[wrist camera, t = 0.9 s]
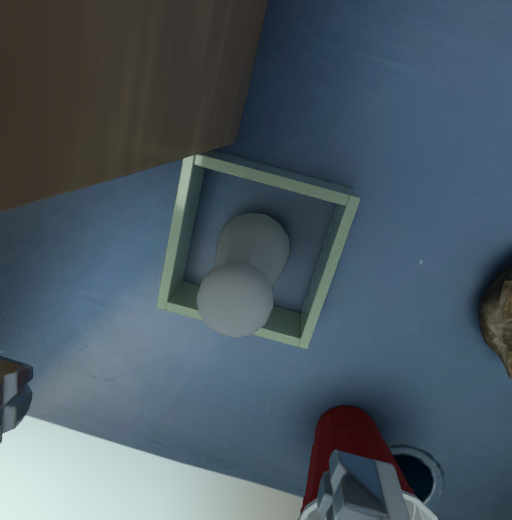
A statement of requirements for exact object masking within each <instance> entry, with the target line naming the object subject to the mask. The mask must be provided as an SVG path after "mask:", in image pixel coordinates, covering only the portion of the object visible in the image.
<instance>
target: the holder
mask: <svg viewBox="0 0 512 520" xmlns="http://www.w3.org/2000/svg"><path fill="white" fill-rule="evenodd" d="M205 168H208V169H211V170H215V171H219V172H222V173H226V174H230V175H233V176H237V177H241V178H244V179H248V180H252V181H255V182H259V183H263V184H266V185H270V186H274V187H277V188H281V189H285V190H288V191H292V192H296V193H299V194H303V195H307V196H310V197H314V198H318V199H321V200H325V201H329V202H332V203H336V207H335V210H334V213H333V216H332V219H331V222H330V225H329V228H328V231H327V234H326V237H325V240H324V243H323V246H322V249H321V252H320V255H319V258H318V261H317V264H316V267H315V270H314V273H313V276H312V279H311V282H310V285H309V288H308V291H307V294H306V297H305V300H304V303H303V306H302V309H301V312H300V313H299V312H295V311H291V310H288V309H284V308H281V307H277V306H273V308H272V310H271V313H270V315H269V318H268V320H267V322H266V324H265V325H264V326H263V327H261V328H260V329H259V330H258V331H256V332H255V333H254V334H253V335H256V336H260V337H264V338H267V339H271V340H274V341H278V342H282V343H285V344H289V345H293V346H296V347H300V348H304V349H308V347H309V344H310V341H311V338H312V335H313V332H314V330H315V327H316V324H317V321H318V318H319V315H320V313H321V310H322V307H323V304H324V301H325V299H326V296H327V293H328V290H329V287H330V284H331V282H332V279H333V276H334V273H335V270H336V267H337V265H338V262H339V259H340V256H341V253H342V251H343V248H344V245H345V242H346V239H347V236H348V234H349V231H350V228H351V225H352V222H353V220H354V217H355V214H356V211H357V208H358V205H359V203H360V200H361V198H360V197H359V196H358V195H357V194H356V192H355V191H354V190H353V189H352V188H350V187H346V186H342V185H338V184H335V183H331V182H327V181H324V180H320V179H316V178H313V177H309V176H305V175H302V174H298V173H294V172H291V171H287V170H283V169H280V168H276V167H272V166H269V165H265V164H261V163H258V162H254V161H250V160H247V159H243V158H239V157H236V156H232V155H228V154H225V153H221V152H217V151H214V150H210V151H206V152H203V153H200V154H196V155H193V156H190V157H186V158H183V161H182V167H181V172H180V178H179V183H178V189H177V195H176V200H175V206H174V211H173V217H172V222H171V228H170V234H169V239H168V245H167V250H166V256H165V261H164V267H163V273H162V278H161V284H160V289H159V295H158V300H157V306H156V307H157V308H160V309H163V310H166V311H170V312H173V313H177V314H181V315H184V316H188V317H191V318H195V319H199V320H202V321H204V320H203V319H202V318H201V316H200V315H199V310H198V305H197V294H198V291H199V288H200V285H197V284H194V283H190V282H186V281H183V277H184V272H185V267H186V262H187V257H188V252H189V247H190V242H191V237H192V232H193V227H194V222H195V217H196V212H197V207H198V202H199V197H200V192H201V187H202V183H203V178H204V173H205Z"/></svg>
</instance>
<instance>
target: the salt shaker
mask: <svg viewBox="0 0 512 520" xmlns="http://www.w3.org/2000/svg"><path fill="white" fill-rule="evenodd" d="M289 256H290V246H289V238H288V236H287V234H286V233H285V231H284V230H283V228H282V227H281V225H280V224H279V223H278V222H276V221H275V220H274V219H272V218H271V217H269V216H268V215H266V214H258V213H247V214H244V215H240V216H237V217H234V218H233V219H232V220H231V221H230V222H229V223H228V224H227V225H226V226H225V227H224V228H223V229H222V231H221V234H220V237H219V240H218V243H217V250H216V260H215V267H214V268H213V269H212V270H211V271H210V272H209V273H208V274H207V275H206V276H205V277H204V278H203V280H202V282H201V285H200V288H199V291H198V294H197V305H198V310H199V315H200V316H201V318H202V319H203V320H204V322H205V323H206V325H207V326H208V327H209V328H210V329H212V330H214V331H216V332H217V333H219V334H221V335H223V336H229V337H235V338H240V337H244V336H248V335H251V334H254V333H255V332H256V331H258V330H259V329H260V328H261V327H263V326H264V325H265V324H266V322H267V320H268V318H269V315H270V313H271V310H272V308H273V293H272V286H273V285H274V283H275V282H276V280H277V279H278V277H279V276H280V274H281V273H282V271H283V270H284V268H285V266H286V263H287V261H288V258H289Z"/></svg>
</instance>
